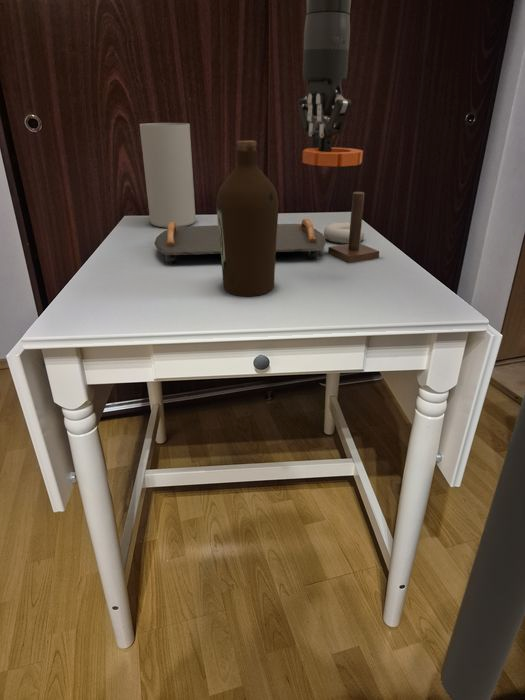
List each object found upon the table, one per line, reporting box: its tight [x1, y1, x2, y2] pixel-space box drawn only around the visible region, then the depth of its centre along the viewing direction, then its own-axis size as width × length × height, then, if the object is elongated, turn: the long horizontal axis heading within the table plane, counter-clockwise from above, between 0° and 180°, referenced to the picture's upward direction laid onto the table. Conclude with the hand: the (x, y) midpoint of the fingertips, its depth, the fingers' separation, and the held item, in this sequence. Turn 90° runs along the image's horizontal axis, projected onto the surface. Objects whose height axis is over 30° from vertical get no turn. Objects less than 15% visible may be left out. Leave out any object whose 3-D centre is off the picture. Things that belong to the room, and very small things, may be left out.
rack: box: [327, 191, 381, 264], centre depth 104 cm, size 8×8×14 cm
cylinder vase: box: [139, 122, 196, 229], centre depth 129 cm, size 12×12×25 cm
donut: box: [323, 222, 366, 244], centre depth 118 cm, size 10×4×10 cm
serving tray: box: [154, 218, 327, 265], centre depth 110 cm, size 39×23×6 cm, turn 96°
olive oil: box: [215, 139, 280, 297], centre depth 84 cm, size 11×11×25 cm
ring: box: [301, 146, 364, 168], centre depth 84 cm, size 10×10×2 cm
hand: (320, 159), depth 88 cm, fingers closed on ring, 2 cm apart
